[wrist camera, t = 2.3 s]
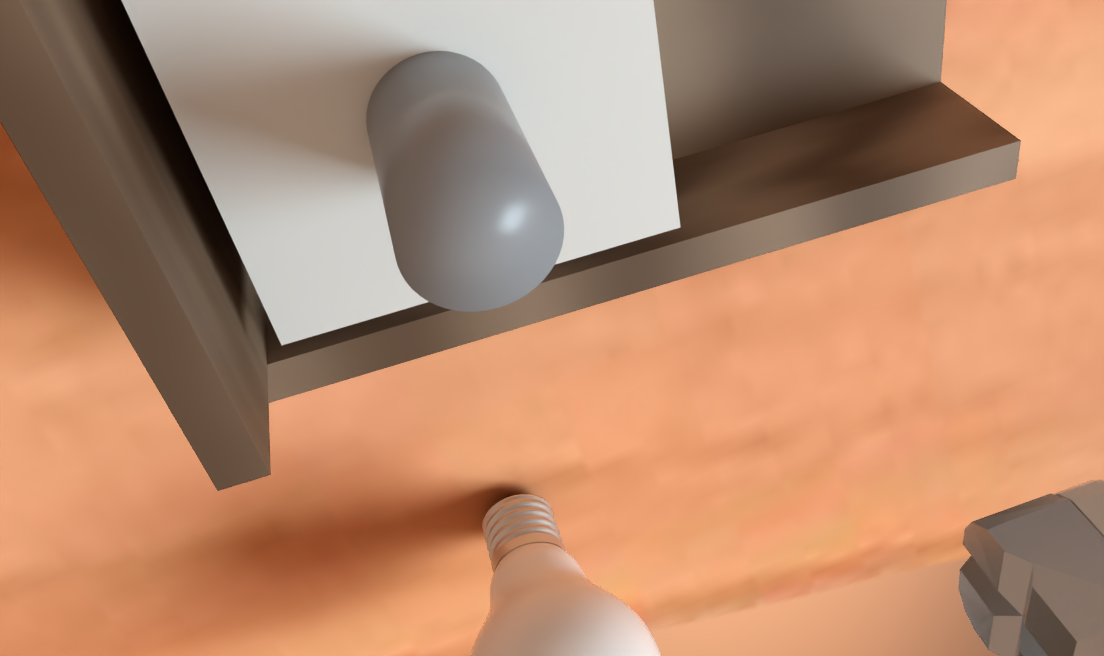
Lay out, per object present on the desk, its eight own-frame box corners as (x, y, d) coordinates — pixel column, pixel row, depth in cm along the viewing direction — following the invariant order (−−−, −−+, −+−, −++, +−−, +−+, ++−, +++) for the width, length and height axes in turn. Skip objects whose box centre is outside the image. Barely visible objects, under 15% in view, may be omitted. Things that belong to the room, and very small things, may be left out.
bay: (958, -448, 23) (1264, -455, 16) (924, 106, 32) (1113, 254, 25) (-10, -208, 21) (-131, -102, 14) (239, 307, 30) (238, 525, 23)
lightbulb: (403, 487, 36) (452, 773, 27) (567, 419, 36) (668, 684, 27) (465, 585, 40) (526, 862, 31) (613, 524, 40) (714, 784, 31)
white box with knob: (566, -210, 23) (734, -97, 15) (621, 138, 28) (762, 350, 21) (132, -99, 22) (72, 82, 14) (276, 236, 28) (289, 496, 20)
